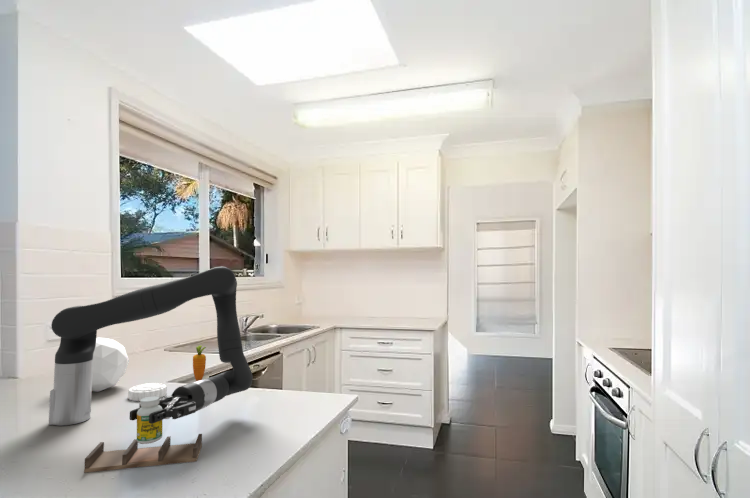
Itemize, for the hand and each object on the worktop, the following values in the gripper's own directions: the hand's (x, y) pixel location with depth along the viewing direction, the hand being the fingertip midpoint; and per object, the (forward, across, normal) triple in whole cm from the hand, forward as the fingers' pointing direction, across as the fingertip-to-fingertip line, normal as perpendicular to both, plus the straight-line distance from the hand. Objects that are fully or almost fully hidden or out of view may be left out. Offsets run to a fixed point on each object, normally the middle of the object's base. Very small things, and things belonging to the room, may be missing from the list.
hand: (140, 417), depth 97 cm
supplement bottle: (-3, 0, +6) cm, 7 cm away
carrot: (-59, -37, +11) cm, 71 cm away
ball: (-39, -66, +10) cm, 78 cm away
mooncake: (-40, -42, +11) cm, 59 cm away
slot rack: (-2, 0, +10) cm, 10 cm away
